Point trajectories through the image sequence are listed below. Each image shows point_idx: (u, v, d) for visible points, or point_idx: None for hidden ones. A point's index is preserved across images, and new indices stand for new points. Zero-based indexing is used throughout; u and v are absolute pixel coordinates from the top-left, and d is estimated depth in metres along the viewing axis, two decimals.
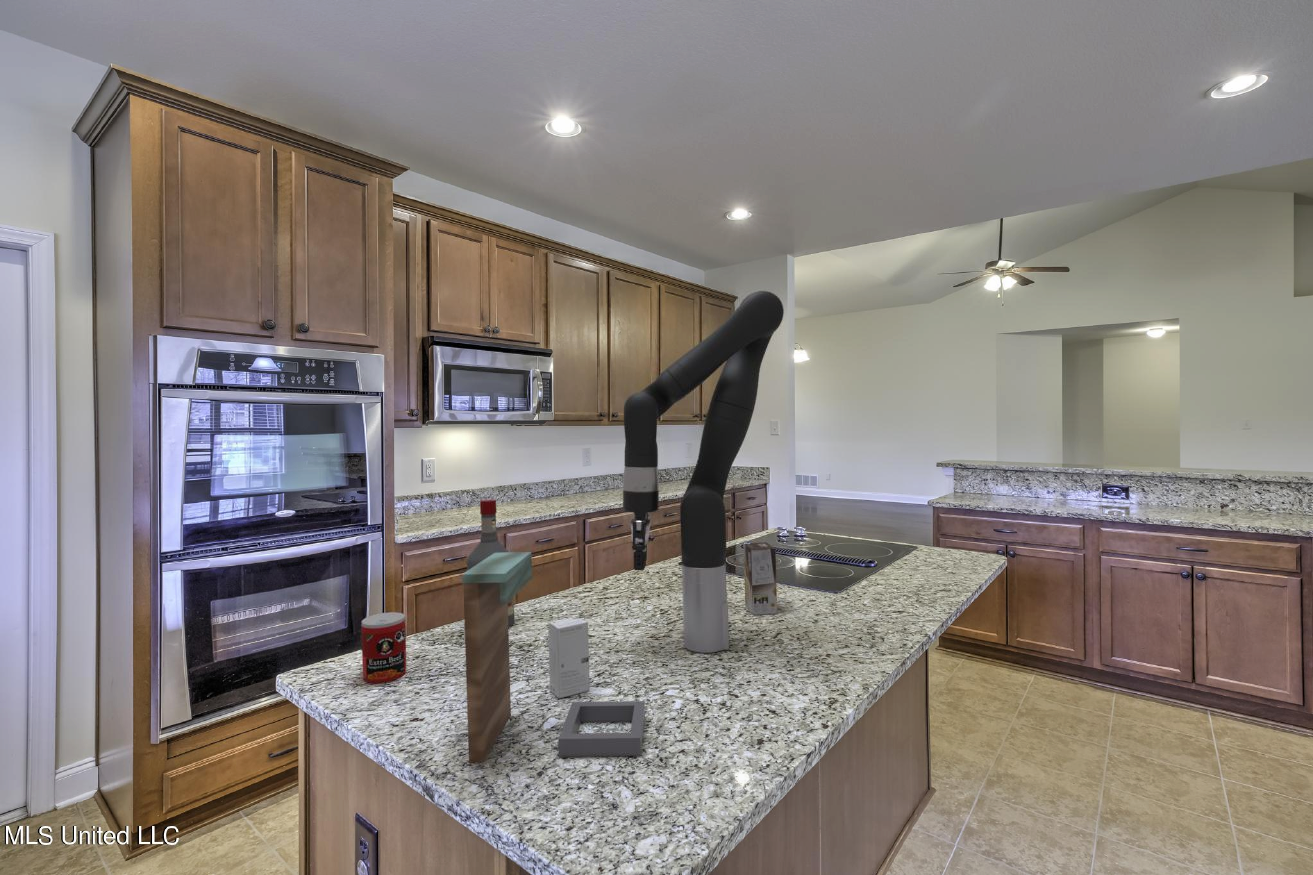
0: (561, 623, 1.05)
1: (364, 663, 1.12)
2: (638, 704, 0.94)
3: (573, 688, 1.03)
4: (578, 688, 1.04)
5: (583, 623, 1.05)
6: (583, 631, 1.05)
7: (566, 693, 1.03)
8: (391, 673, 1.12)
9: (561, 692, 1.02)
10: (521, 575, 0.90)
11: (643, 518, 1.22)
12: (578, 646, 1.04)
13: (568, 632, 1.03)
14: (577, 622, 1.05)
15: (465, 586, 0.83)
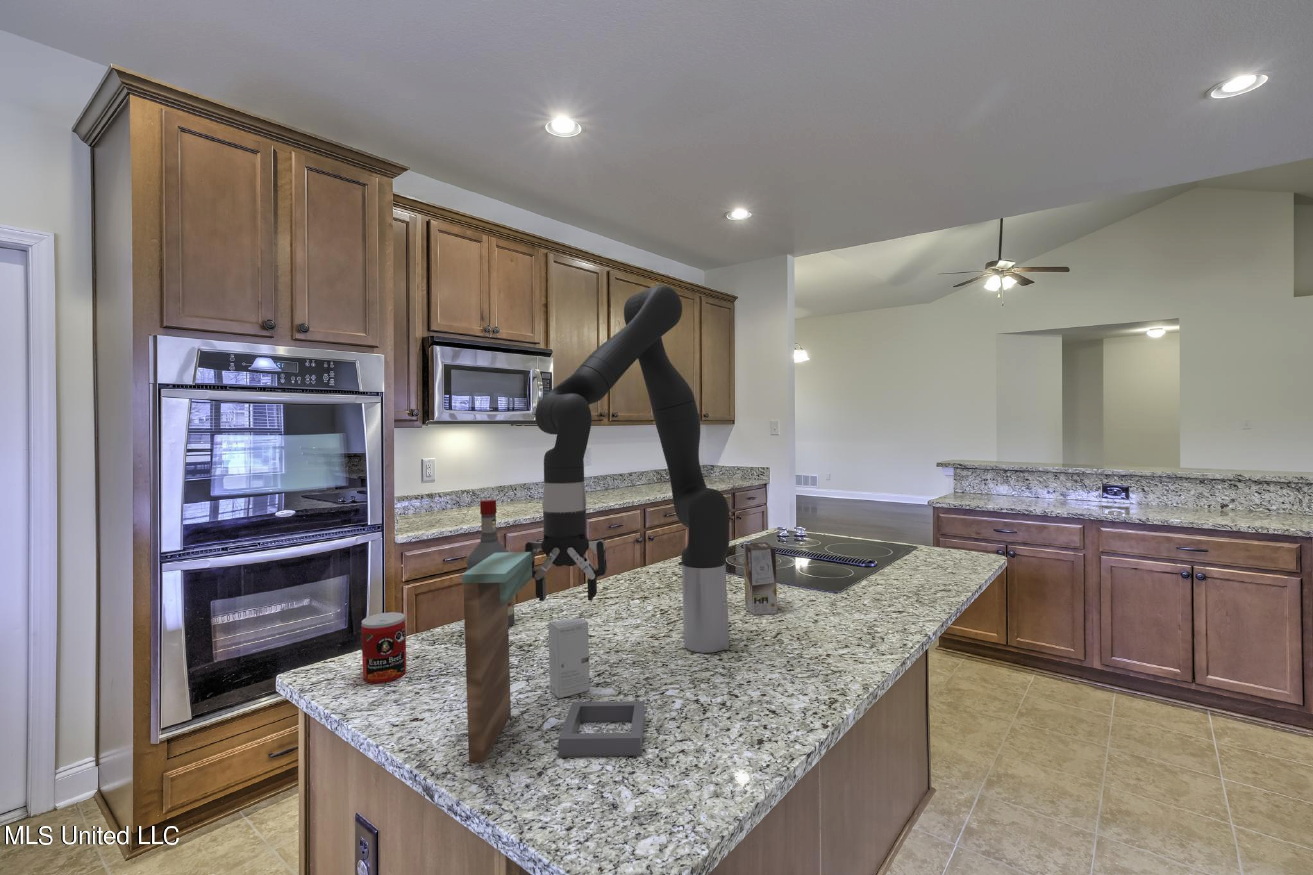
0: (561, 623, 1.05)
1: (364, 663, 1.12)
2: (638, 704, 0.94)
3: (573, 688, 1.03)
4: (578, 688, 1.04)
5: (583, 623, 1.05)
6: (583, 631, 1.05)
7: (566, 693, 1.03)
8: (391, 673, 1.12)
9: (561, 692, 1.02)
10: (521, 575, 0.90)
11: None
12: (578, 646, 1.04)
13: (568, 632, 1.03)
14: (577, 622, 1.05)
15: (465, 586, 0.83)
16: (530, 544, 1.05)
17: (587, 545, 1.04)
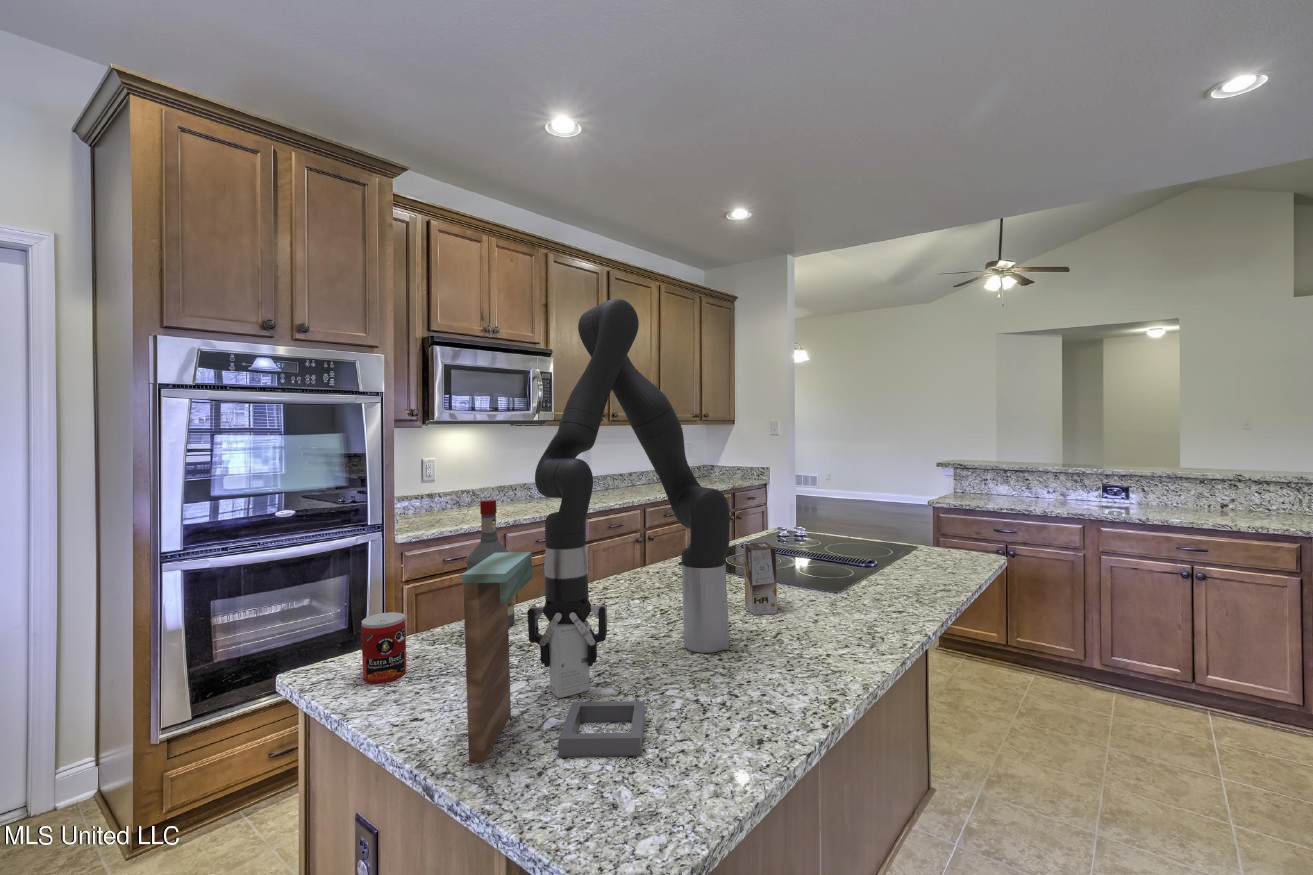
0: None
1: (364, 663, 1.12)
2: (638, 704, 0.94)
3: (573, 688, 1.03)
4: (578, 687, 1.04)
5: None
6: None
7: (566, 692, 1.03)
8: (391, 673, 1.12)
9: (561, 692, 1.02)
10: (521, 575, 0.90)
11: None
12: (578, 646, 1.04)
13: (568, 632, 1.03)
14: None
15: (465, 586, 0.83)
16: (532, 610, 1.04)
17: (589, 610, 1.04)
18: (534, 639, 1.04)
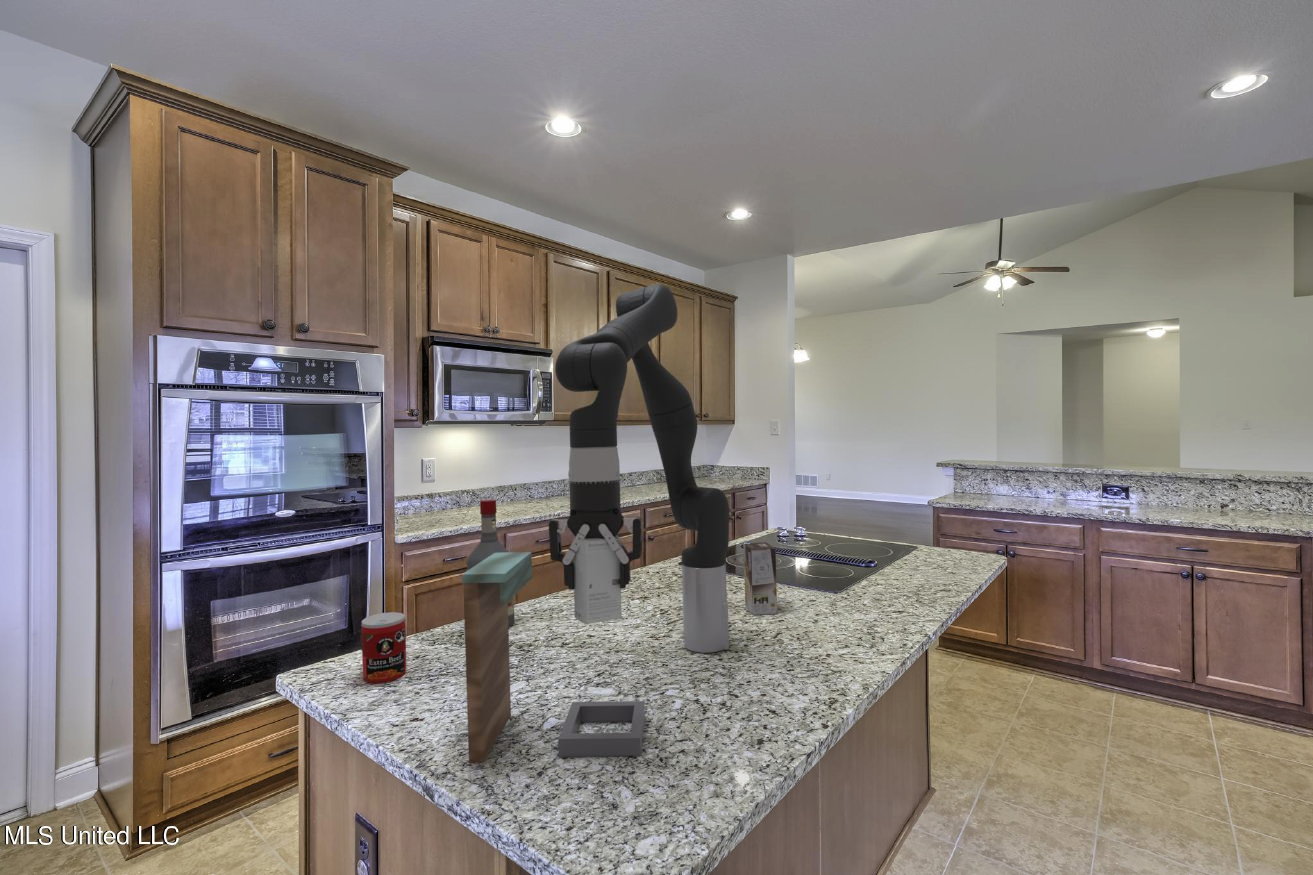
0: (588, 538, 0.89)
1: (364, 663, 1.12)
2: (638, 704, 0.94)
3: (602, 613, 0.87)
4: (608, 614, 0.88)
5: None
6: None
7: (595, 618, 0.87)
8: (391, 673, 1.12)
9: (589, 618, 0.86)
10: (521, 575, 0.90)
11: None
12: (608, 565, 0.88)
13: (597, 548, 0.87)
14: None
15: (465, 586, 0.83)
16: (554, 522, 0.89)
17: (622, 522, 0.88)
18: (557, 556, 0.88)
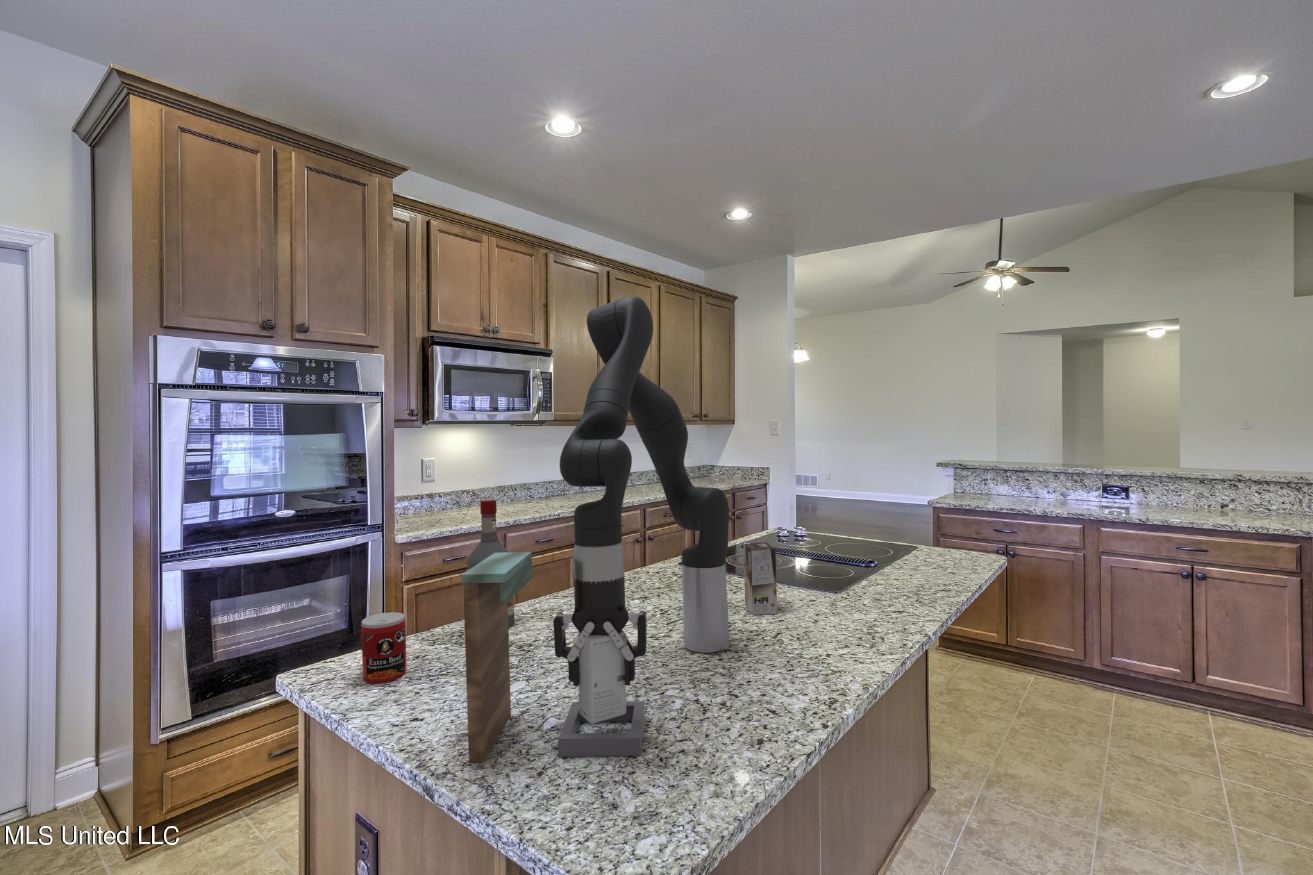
0: None
1: (364, 663, 1.12)
2: (638, 704, 0.94)
3: (607, 711, 0.87)
4: (613, 711, 0.88)
5: None
6: None
7: (600, 717, 0.87)
8: (391, 673, 1.12)
9: (594, 717, 0.86)
10: (521, 575, 0.90)
11: None
12: (613, 662, 0.88)
13: (602, 645, 0.87)
14: None
15: (465, 586, 0.83)
16: (559, 619, 0.88)
17: (626, 619, 0.88)
18: (561, 653, 0.88)
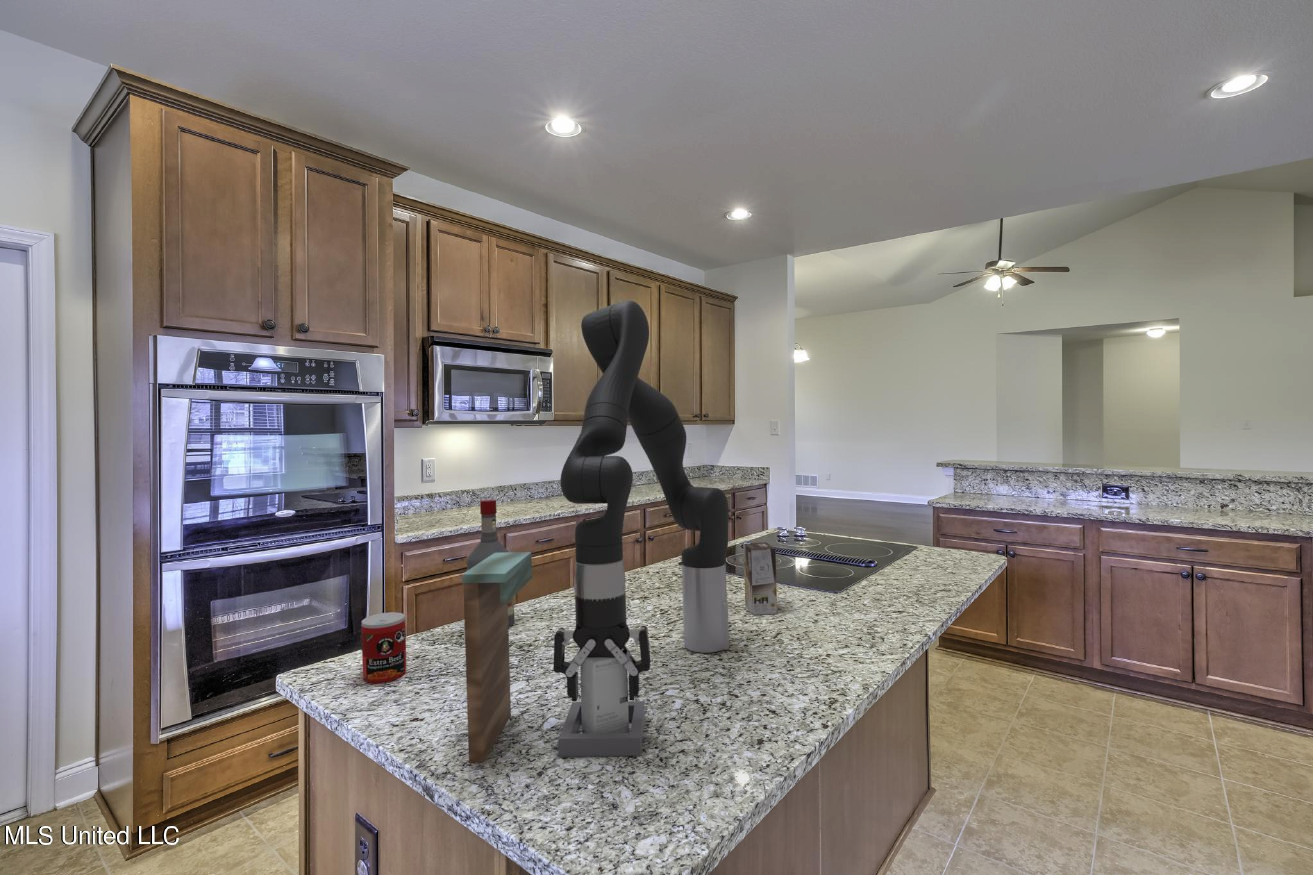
0: None
1: (364, 663, 1.12)
2: (638, 704, 0.94)
3: None
4: None
5: None
6: (621, 665, 0.89)
7: None
8: (391, 673, 1.12)
9: None
10: (521, 575, 0.90)
11: None
12: (615, 683, 0.88)
13: (605, 668, 0.87)
14: None
15: (465, 586, 0.83)
16: (560, 635, 0.88)
17: (628, 635, 0.88)
18: (560, 669, 0.88)
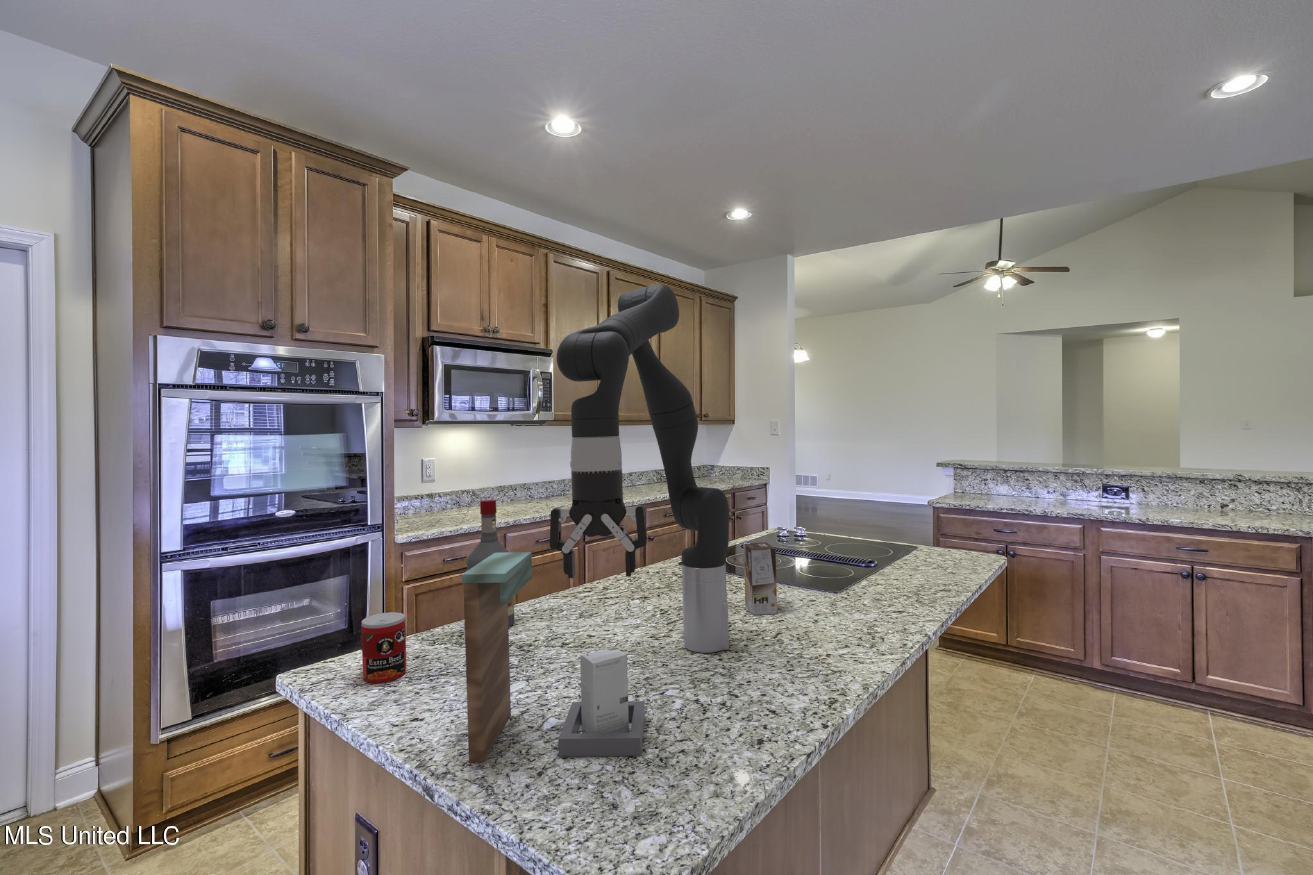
0: (595, 656, 0.88)
1: (364, 663, 1.12)
2: (638, 704, 0.94)
3: None
4: None
5: (621, 655, 0.89)
6: (621, 666, 0.89)
7: None
8: (391, 673, 1.12)
9: None
10: (521, 575, 0.90)
11: None
12: (615, 683, 0.88)
13: (605, 668, 0.87)
14: (614, 655, 0.89)
15: (465, 586, 0.83)
16: (556, 511, 0.88)
17: (624, 511, 0.88)
18: (556, 545, 0.88)
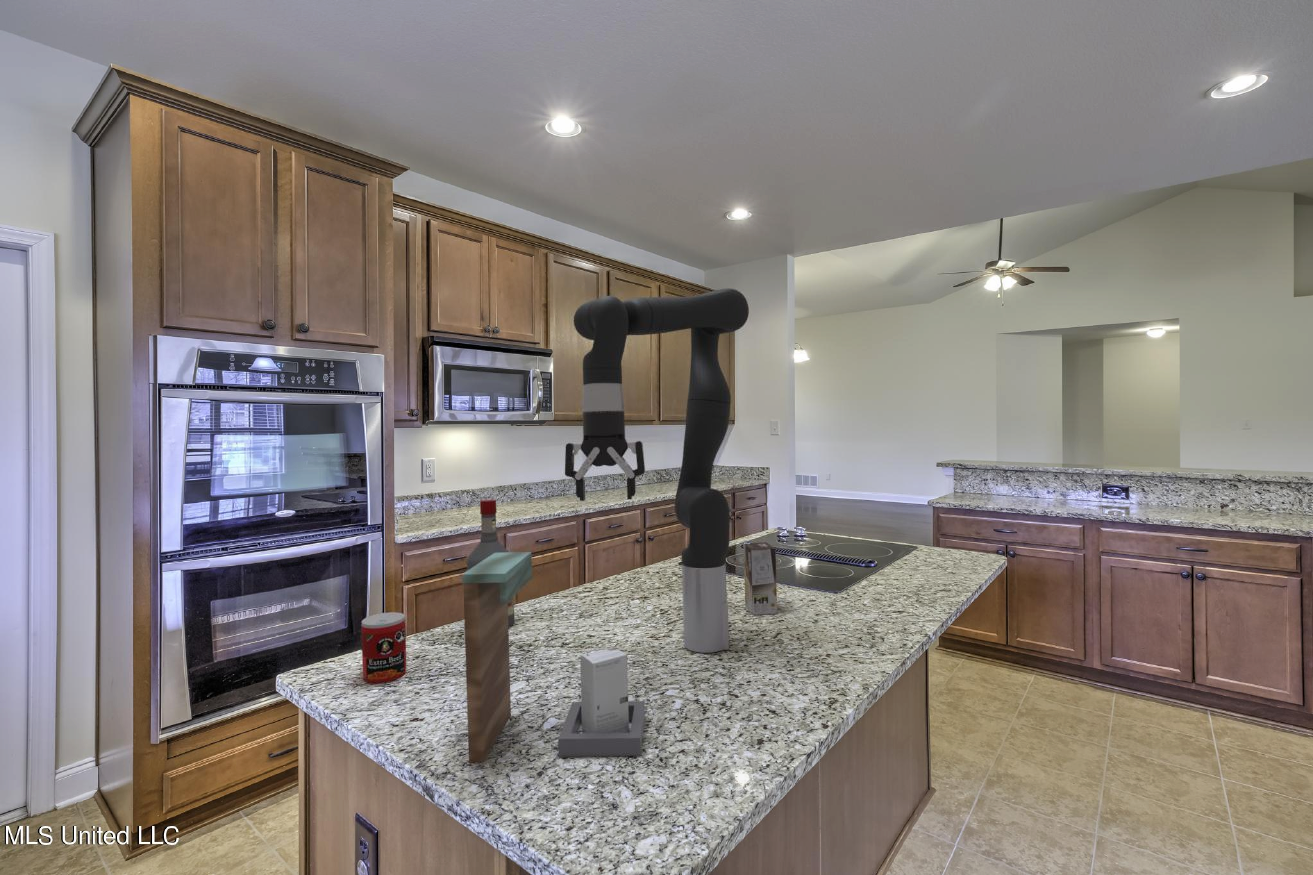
0: (595, 656, 0.88)
1: (364, 663, 1.12)
2: (638, 704, 0.94)
3: None
4: None
5: (621, 656, 0.89)
6: (621, 666, 0.89)
7: None
8: (391, 673, 1.12)
9: None
10: (521, 575, 0.90)
11: None
12: (616, 684, 0.88)
13: (605, 668, 0.87)
14: (614, 655, 0.89)
15: (465, 586, 0.83)
16: (570, 445, 1.07)
17: (626, 445, 1.07)
18: (570, 473, 1.07)
